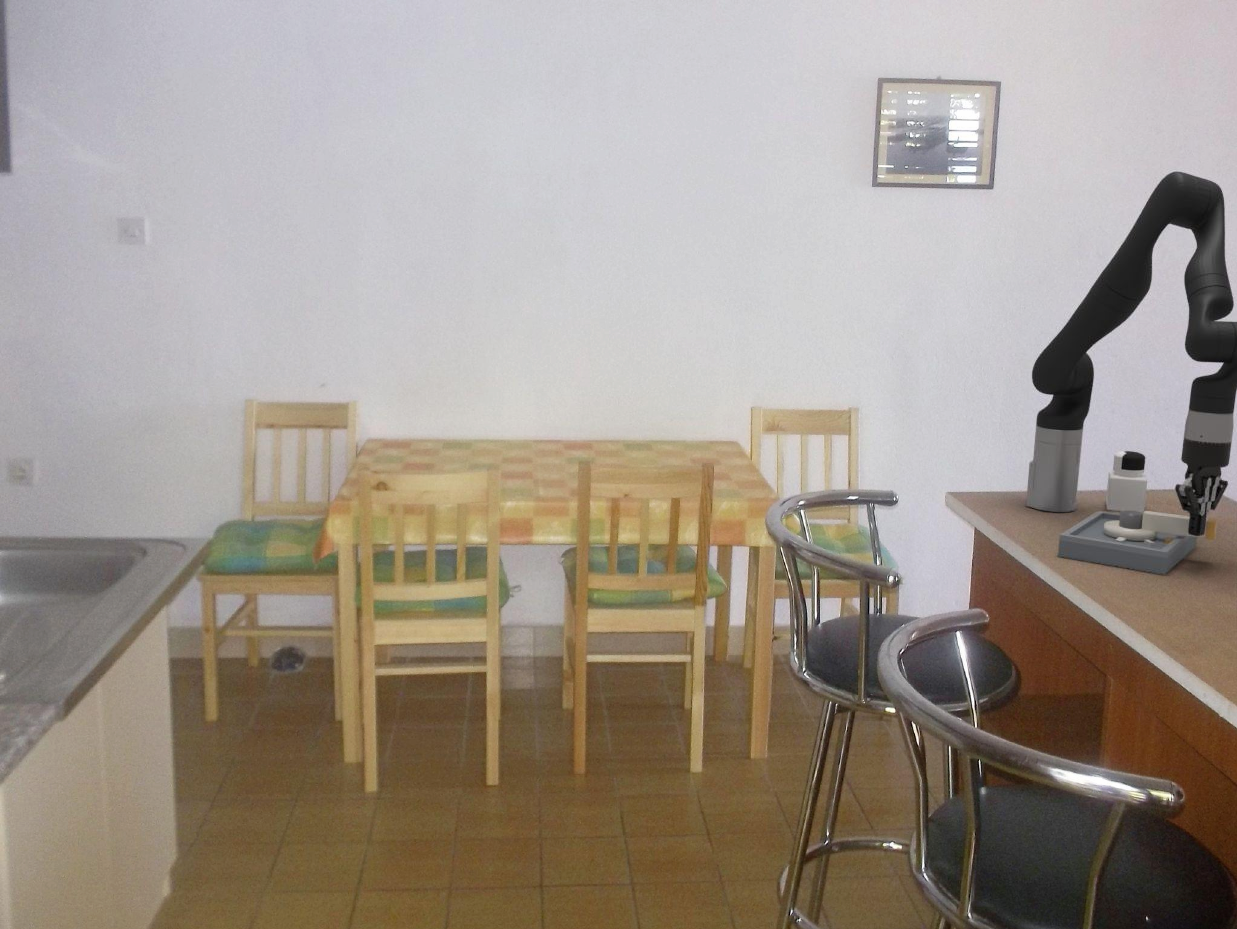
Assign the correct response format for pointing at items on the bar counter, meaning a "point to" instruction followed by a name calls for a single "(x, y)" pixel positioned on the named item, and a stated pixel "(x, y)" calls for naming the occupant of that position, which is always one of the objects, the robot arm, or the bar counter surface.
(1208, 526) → the white lever with disc
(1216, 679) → the bar counter surface
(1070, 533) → the grey tray
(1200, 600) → the bar counter surface
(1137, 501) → the medicine bottle
